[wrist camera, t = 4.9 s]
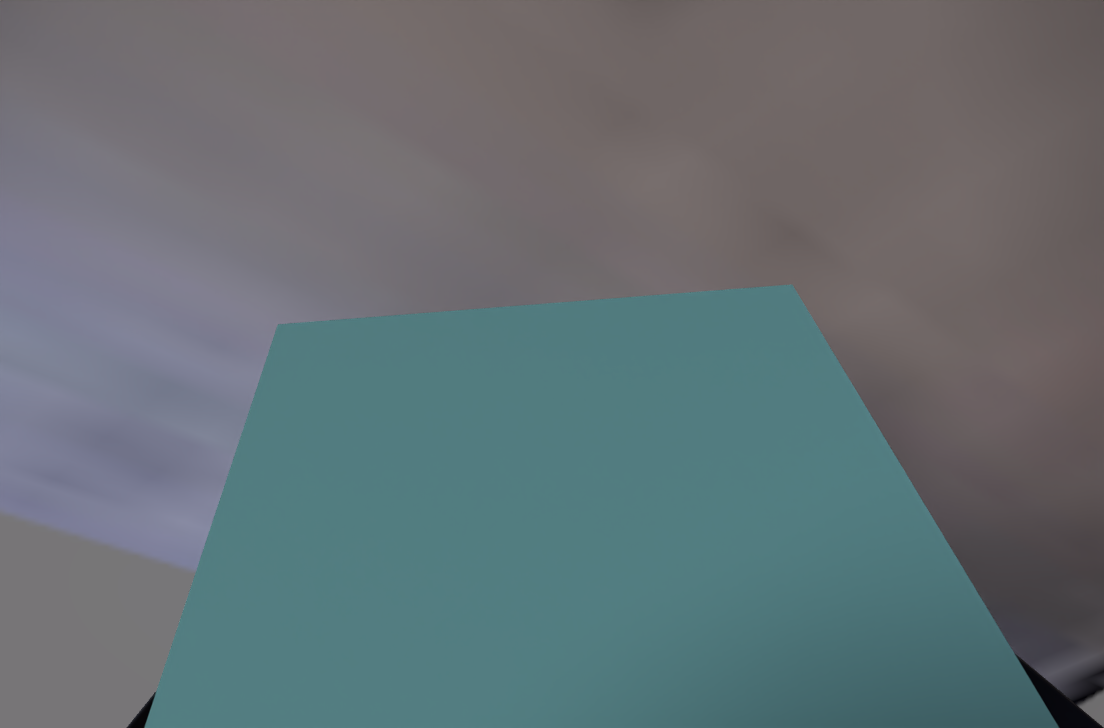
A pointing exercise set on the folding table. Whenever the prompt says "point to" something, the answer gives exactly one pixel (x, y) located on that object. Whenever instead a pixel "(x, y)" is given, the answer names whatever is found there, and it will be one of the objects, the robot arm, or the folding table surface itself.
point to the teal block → (578, 535)
